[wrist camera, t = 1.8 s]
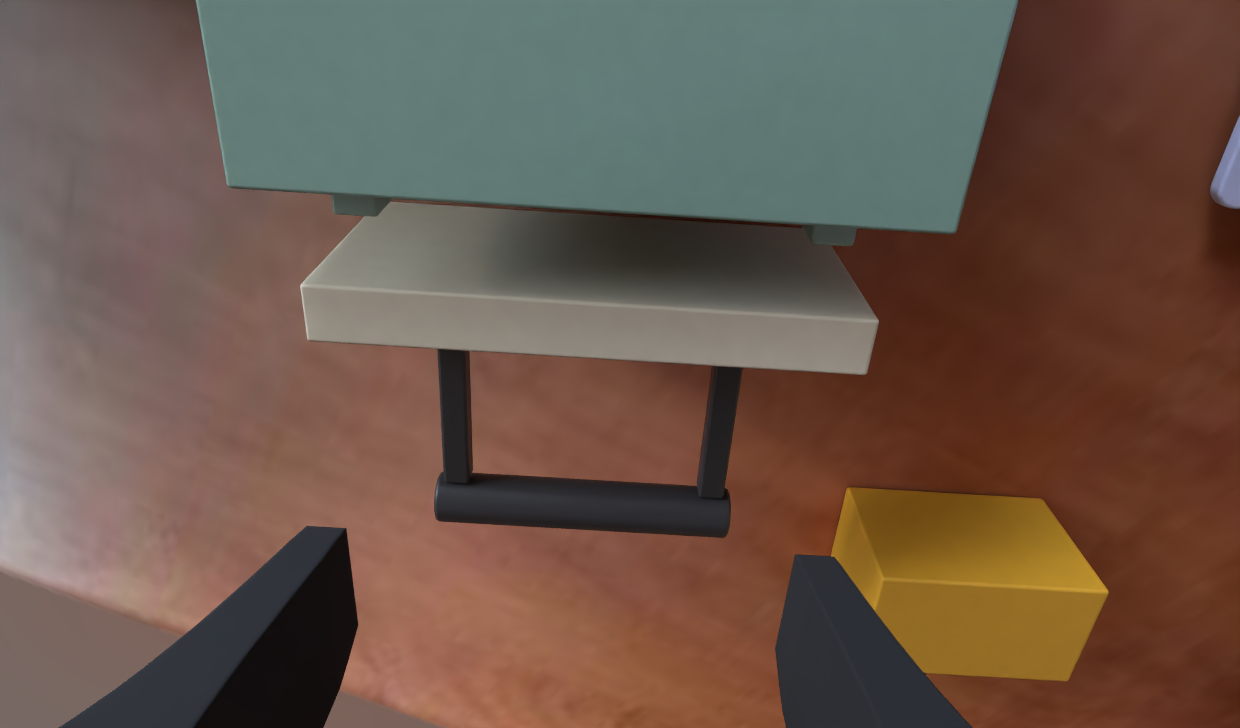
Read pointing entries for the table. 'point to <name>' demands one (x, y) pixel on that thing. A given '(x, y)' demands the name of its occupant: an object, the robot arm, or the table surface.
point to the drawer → (589, 329)
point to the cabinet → (614, 104)
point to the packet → (971, 580)
